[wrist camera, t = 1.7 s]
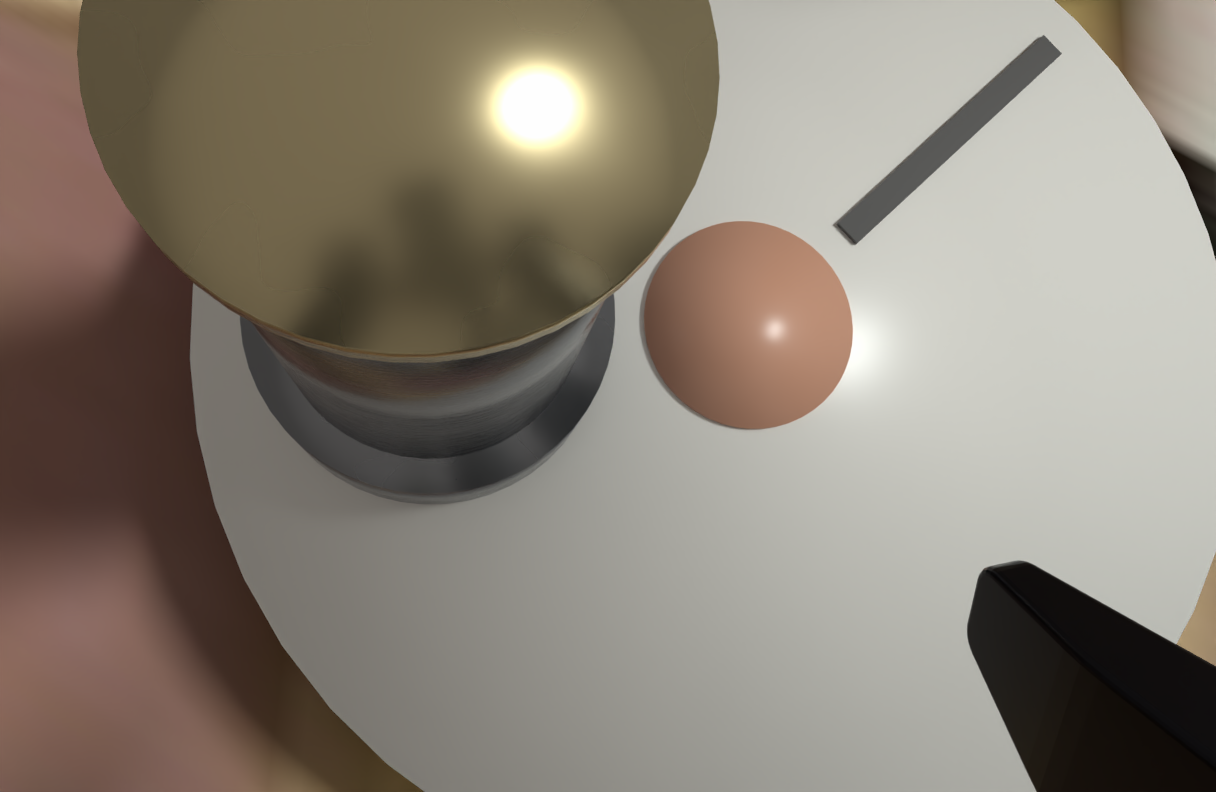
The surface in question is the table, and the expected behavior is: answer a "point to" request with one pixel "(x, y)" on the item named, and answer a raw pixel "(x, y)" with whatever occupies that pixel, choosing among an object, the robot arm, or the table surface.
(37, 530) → the table surface
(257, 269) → the brass-topped metal cylinder
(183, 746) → the table surface
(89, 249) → the table surface
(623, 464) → the white round disc
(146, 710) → the table surface
